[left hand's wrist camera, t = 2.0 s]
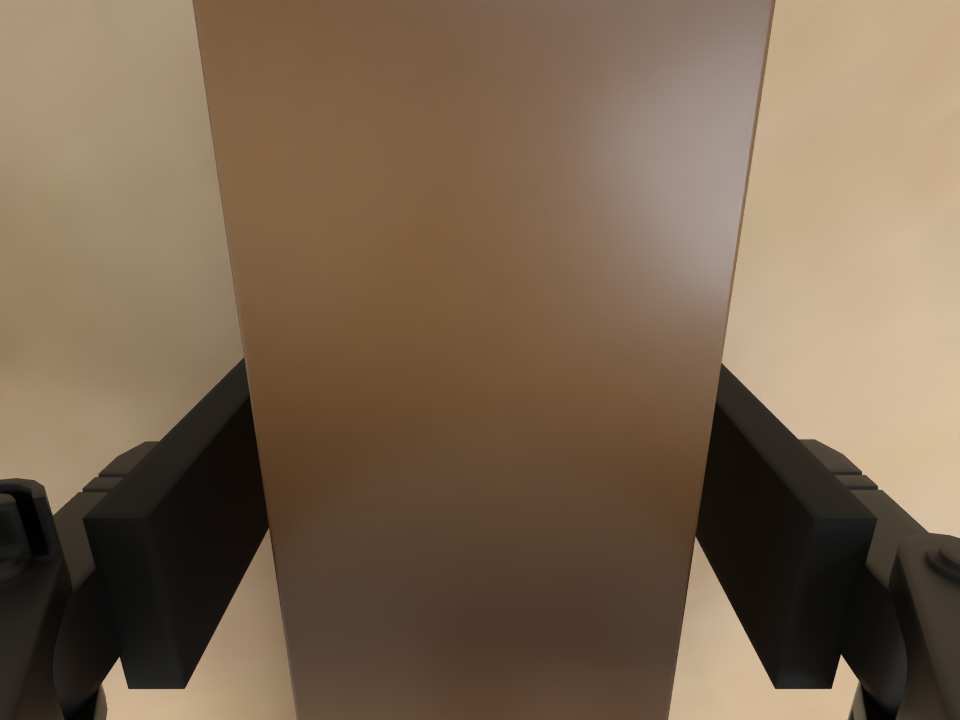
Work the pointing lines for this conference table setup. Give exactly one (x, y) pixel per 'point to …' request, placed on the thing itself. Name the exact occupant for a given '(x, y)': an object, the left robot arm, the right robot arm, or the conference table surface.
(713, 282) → the bar
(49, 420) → the conference table surface
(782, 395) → the conference table surface
